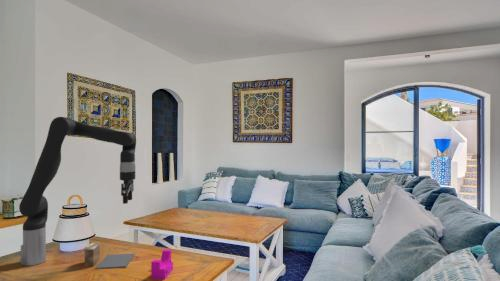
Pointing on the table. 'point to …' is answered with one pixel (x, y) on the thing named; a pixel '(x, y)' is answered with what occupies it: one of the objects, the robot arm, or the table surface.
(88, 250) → the slab
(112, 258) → the mat
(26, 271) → the table surface
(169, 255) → the toy block
